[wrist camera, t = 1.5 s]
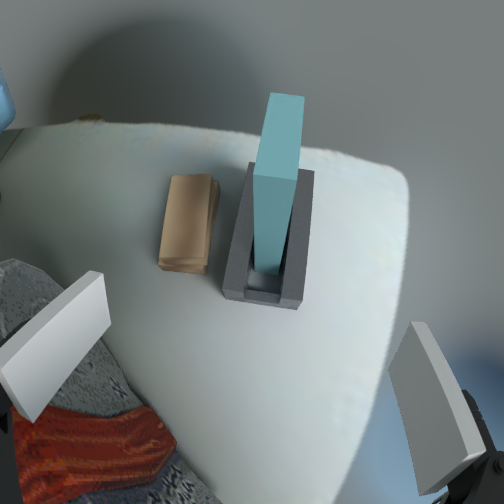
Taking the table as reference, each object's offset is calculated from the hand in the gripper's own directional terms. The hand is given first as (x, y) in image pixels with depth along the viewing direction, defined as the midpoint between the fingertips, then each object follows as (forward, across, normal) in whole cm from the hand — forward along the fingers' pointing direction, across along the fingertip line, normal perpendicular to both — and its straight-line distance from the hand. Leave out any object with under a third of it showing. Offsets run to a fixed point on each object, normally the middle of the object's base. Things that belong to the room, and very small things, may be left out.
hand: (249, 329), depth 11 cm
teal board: (+22, 0, -4) cm, 23 cm away
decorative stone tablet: (+7, -12, -20) cm, 24 cm away
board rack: (+22, 0, -4) cm, 23 cm away
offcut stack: (+22, -9, -4) cm, 25 cm away
